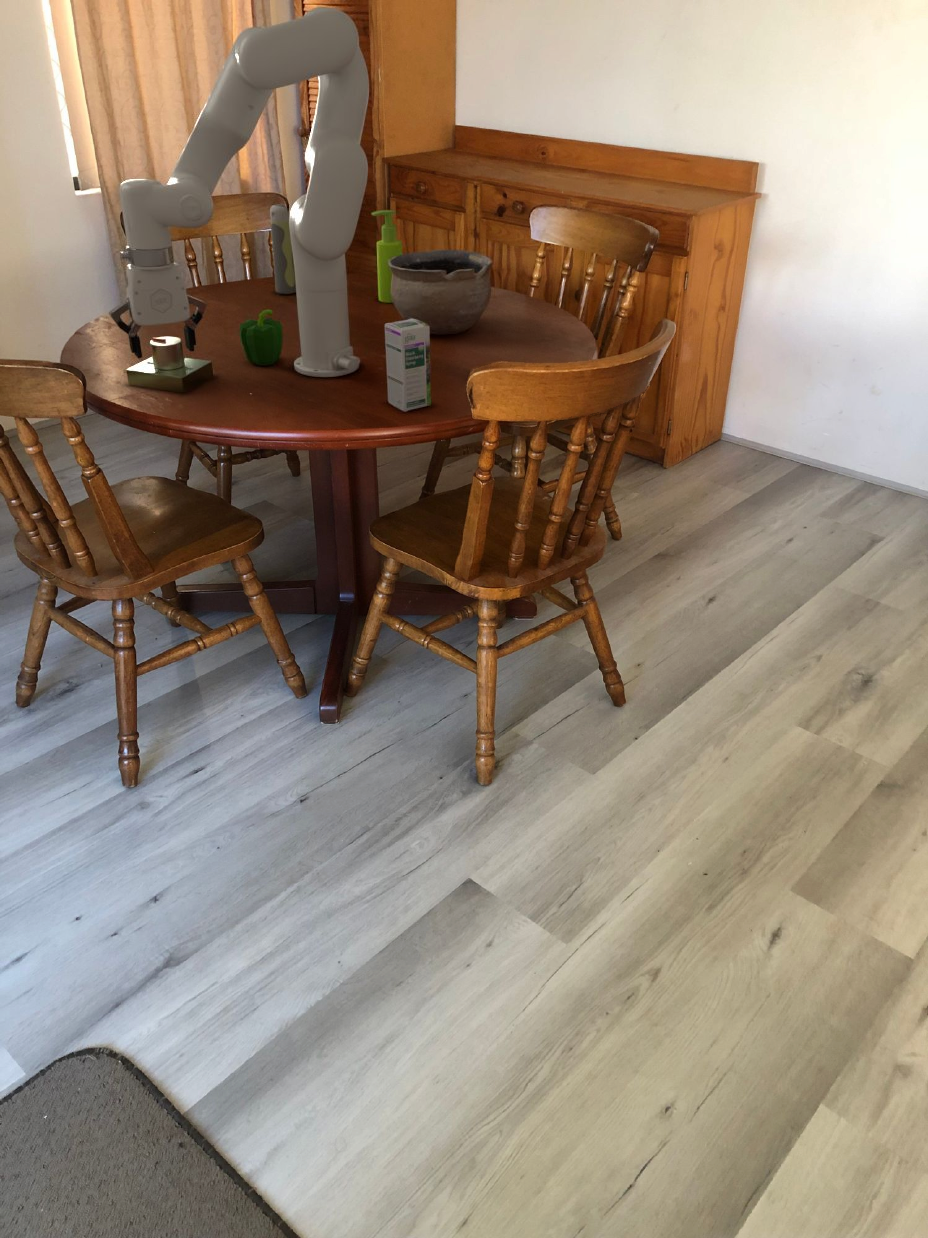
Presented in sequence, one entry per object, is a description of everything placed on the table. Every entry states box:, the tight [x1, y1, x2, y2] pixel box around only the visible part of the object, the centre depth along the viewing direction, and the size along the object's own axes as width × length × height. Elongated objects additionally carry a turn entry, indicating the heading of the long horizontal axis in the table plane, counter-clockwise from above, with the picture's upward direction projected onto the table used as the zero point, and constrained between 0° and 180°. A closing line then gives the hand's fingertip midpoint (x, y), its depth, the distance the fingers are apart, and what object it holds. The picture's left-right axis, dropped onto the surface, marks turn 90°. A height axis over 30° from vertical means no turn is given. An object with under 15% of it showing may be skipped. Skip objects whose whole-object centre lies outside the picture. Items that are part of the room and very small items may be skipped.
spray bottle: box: [269, 203, 296, 295], centre depth 231 cm, size 5×5×20 cm
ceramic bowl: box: [388, 249, 494, 336], centre depth 208 cm, size 22×22×15 cm
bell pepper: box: [238, 309, 284, 366], centre depth 190 cm, size 8×8×10 cm
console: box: [125, 356, 214, 394], centre depth 182 cm, size 12×10×3 cm
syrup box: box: [384, 318, 432, 412], centre depth 170 cm, size 6×6×14 cm
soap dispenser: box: [370, 209, 403, 304], centre depth 227 cm, size 6×7×20 cm
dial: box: [149, 336, 185, 370], centre depth 180 cm, size 6×6×5 cm
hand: (164, 352), depth 180 cm, fingers open, 9 cm apart
